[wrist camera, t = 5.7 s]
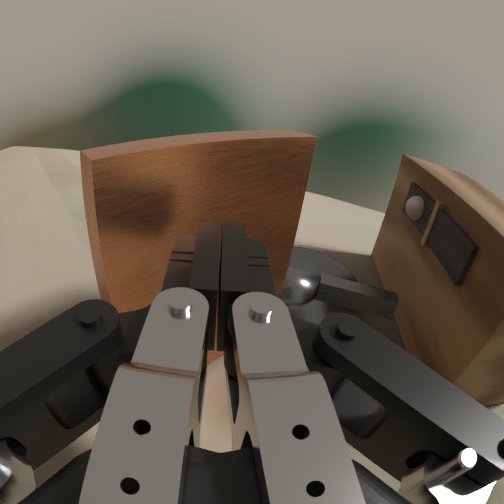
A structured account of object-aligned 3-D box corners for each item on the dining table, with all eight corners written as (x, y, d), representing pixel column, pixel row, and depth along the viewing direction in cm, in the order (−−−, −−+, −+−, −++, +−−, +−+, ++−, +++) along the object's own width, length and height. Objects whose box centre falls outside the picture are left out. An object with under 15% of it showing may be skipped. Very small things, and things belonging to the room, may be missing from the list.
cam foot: (272, 242, 31) (295, 113, 24) (394, 318, 23) (457, 171, 16) (86, 319, 19) (53, 128, 12) (215, 492, 11) (248, 282, 4)
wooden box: (404, 415, 16) (515, 264, 9) (358, 252, 33) (389, 149, 26) (508, 401, 15) (595, 287, 9) (439, 267, 32) (475, 179, 26)
